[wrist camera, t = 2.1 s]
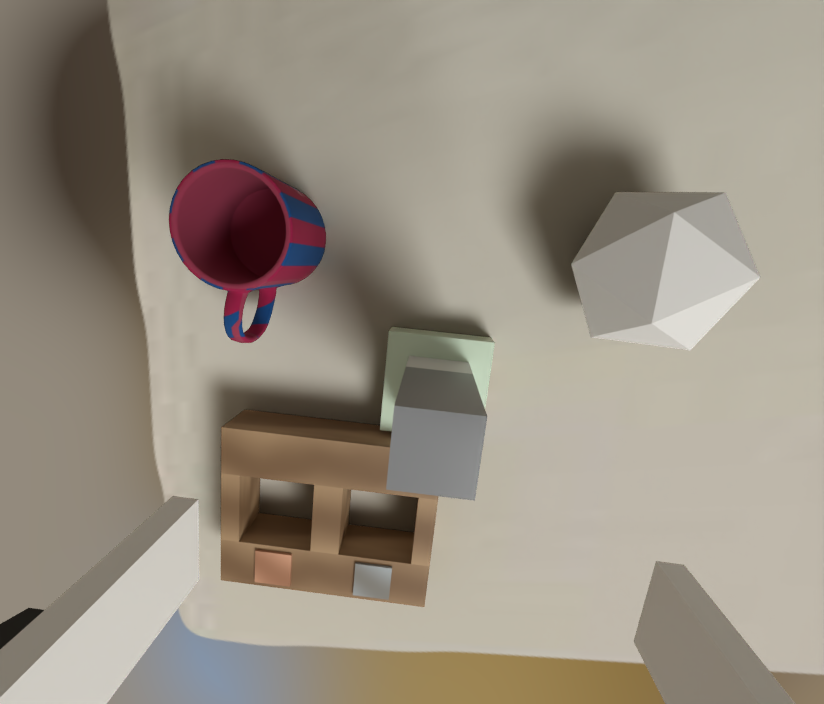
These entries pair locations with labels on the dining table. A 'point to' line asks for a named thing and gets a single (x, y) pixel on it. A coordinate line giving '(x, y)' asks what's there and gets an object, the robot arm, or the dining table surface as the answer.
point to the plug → (437, 430)
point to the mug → (245, 236)
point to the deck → (432, 346)
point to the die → (662, 267)
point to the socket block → (317, 511)
